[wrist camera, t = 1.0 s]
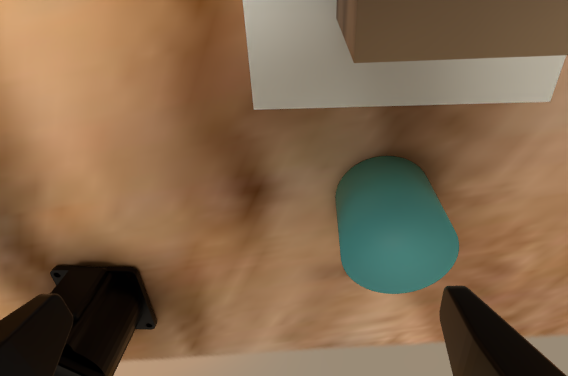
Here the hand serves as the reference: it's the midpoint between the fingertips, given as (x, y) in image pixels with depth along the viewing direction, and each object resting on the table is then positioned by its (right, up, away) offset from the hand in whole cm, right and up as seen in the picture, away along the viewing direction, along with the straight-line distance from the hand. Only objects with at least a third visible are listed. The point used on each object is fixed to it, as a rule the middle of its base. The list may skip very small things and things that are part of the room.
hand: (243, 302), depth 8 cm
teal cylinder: (+7, +2, +13) cm, 15 cm away
